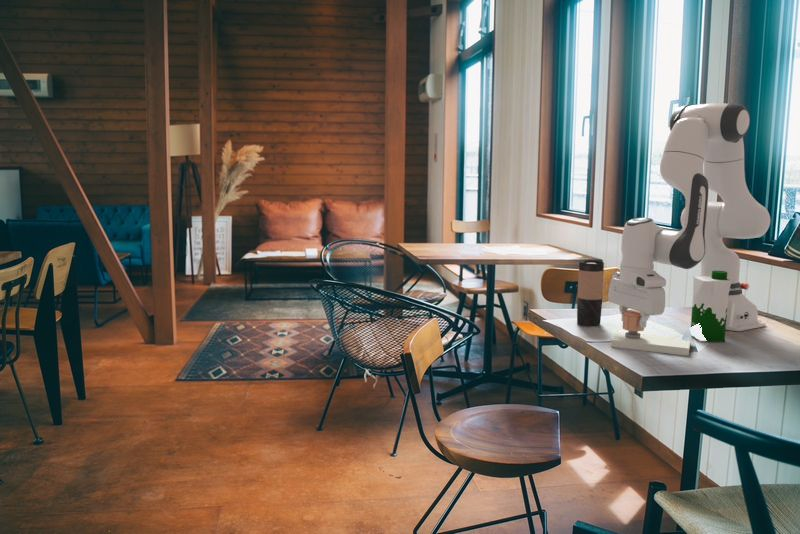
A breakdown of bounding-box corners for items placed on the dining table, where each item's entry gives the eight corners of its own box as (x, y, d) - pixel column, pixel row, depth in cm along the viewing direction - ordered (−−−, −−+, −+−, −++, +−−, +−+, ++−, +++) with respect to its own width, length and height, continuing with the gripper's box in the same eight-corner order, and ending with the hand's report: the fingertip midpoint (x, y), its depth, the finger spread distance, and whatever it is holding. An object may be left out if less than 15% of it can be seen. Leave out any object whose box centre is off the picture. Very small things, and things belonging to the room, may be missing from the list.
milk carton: (729, 343, 194) (735, 274, 191) (697, 342, 194) (702, 273, 191) (716, 335, 203) (721, 269, 200) (685, 335, 203) (690, 269, 200)
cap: (624, 325, 196) (625, 309, 195) (644, 327, 193) (645, 311, 193) (621, 329, 191) (622, 313, 190) (642, 332, 188) (643, 315, 188)
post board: (690, 345, 192) (692, 317, 190) (688, 355, 181) (690, 326, 180) (616, 337, 200) (618, 310, 199) (610, 346, 189) (612, 318, 188)
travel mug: (602, 327, 212) (605, 264, 209) (576, 326, 213) (579, 263, 210) (599, 321, 219) (603, 260, 216) (575, 320, 221) (578, 260, 218)
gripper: (604, 271, 198) (601, 317, 200) (651, 282, 179) (648, 333, 181) (622, 270, 200) (619, 315, 203) (670, 281, 181) (667, 331, 183)
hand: (633, 324), depth 192 cm, fingers closed on cap, 6 cm apart
